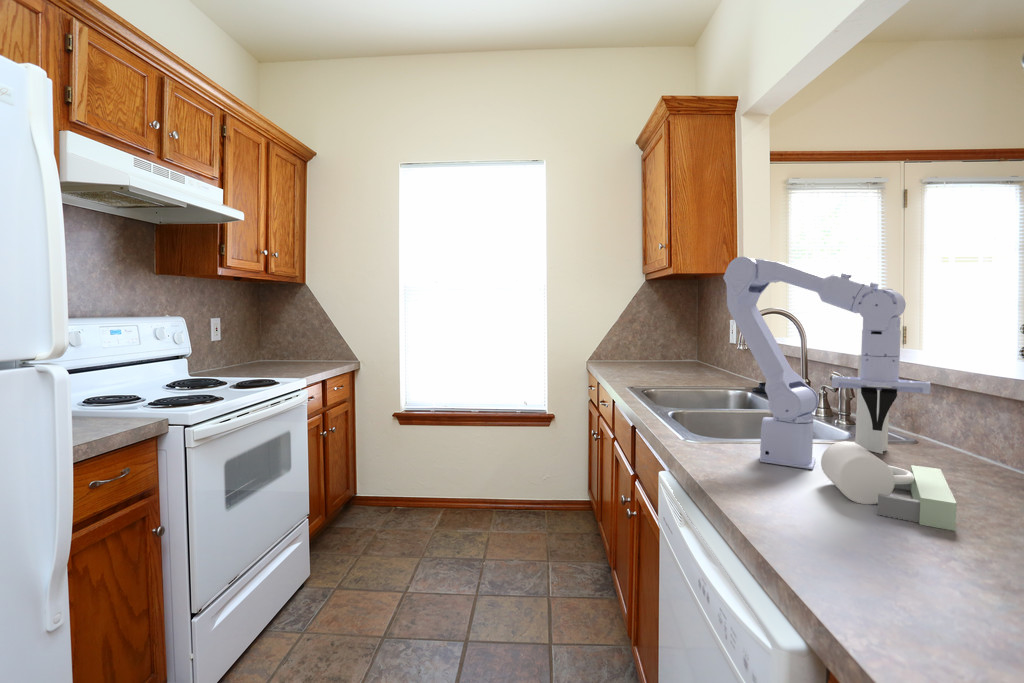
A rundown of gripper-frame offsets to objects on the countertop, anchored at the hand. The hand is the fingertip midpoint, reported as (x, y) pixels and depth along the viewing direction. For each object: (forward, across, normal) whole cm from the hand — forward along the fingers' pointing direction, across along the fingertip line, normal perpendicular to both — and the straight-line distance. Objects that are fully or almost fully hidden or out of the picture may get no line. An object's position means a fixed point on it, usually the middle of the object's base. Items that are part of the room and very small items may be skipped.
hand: (877, 429), depth 95 cm
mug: (+10, -1, -10) cm, 14 cm away
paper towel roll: (+10, 0, +25) cm, 27 cm away
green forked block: (+9, +5, -11) cm, 15 cm away
